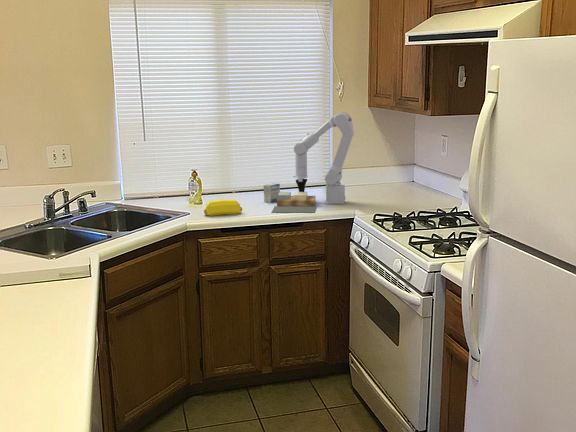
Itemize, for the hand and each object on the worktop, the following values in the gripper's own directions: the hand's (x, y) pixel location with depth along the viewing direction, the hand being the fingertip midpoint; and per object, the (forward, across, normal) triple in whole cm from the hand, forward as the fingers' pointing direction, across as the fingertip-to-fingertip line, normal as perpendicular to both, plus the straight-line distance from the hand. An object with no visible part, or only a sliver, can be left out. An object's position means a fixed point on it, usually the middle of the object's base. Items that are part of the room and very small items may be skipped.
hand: (301, 193), depth 324 cm
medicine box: (+4, 0, -15) cm, 16 cm away
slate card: (+1, +7, -8) cm, 11 cm away
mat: (+4, +21, -2) cm, 22 cm away
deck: (+4, +8, -2) cm, 9 cm away
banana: (+4, +31, -34) cm, 46 cm away
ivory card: (+1, +7, 0) cm, 7 cm away
